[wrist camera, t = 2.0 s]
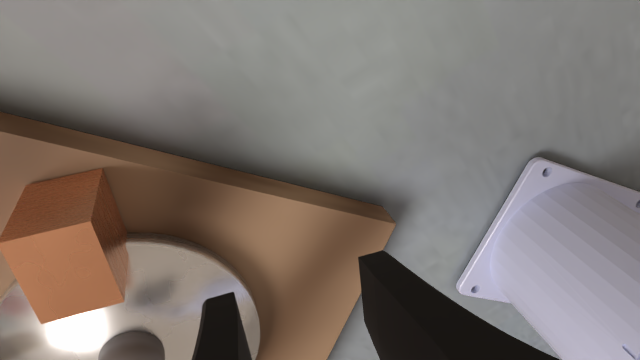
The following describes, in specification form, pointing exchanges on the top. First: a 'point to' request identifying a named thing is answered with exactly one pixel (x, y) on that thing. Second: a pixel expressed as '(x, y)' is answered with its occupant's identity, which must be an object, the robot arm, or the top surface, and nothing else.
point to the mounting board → (215, 230)
